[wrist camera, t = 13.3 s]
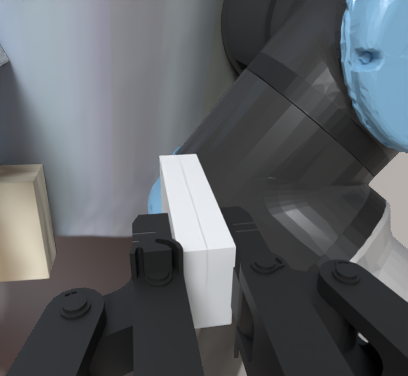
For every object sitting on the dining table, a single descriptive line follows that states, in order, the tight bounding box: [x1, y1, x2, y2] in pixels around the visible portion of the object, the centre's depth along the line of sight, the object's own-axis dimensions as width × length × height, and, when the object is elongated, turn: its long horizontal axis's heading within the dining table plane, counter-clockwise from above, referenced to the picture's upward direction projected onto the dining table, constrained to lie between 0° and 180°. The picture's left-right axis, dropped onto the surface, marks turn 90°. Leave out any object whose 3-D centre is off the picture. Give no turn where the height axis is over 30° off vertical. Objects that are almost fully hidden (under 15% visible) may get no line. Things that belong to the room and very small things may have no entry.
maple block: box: [0, 164, 57, 282], centre depth 41 cm, size 9×12×5 cm
